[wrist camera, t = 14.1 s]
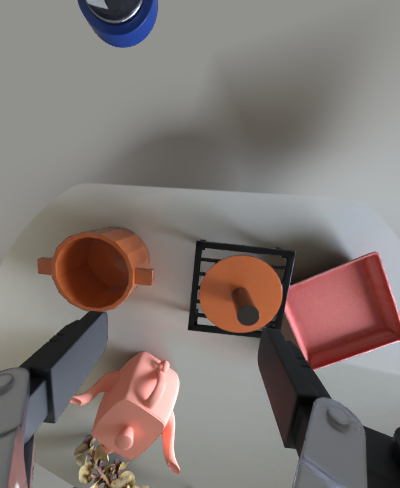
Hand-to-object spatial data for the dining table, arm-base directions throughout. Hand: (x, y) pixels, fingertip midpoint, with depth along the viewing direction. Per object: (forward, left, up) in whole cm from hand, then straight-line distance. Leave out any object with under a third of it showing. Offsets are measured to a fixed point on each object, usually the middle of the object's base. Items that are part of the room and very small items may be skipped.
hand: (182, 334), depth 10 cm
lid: (+7, +8, -21) cm, 24 cm away
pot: (+5, -15, -27) cm, 31 cm away
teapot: (+30, -8, -27) cm, 41 cm away
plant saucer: (+10, +27, -27) cm, 39 cm away
